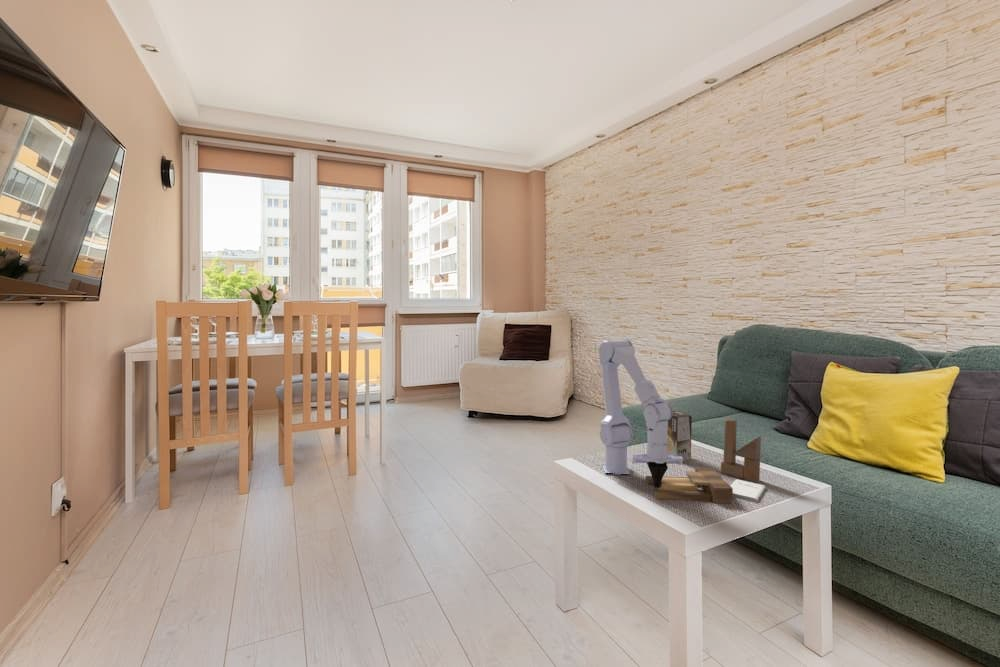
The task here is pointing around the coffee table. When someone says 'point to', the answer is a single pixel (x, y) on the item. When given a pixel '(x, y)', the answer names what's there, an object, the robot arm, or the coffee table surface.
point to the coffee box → (679, 435)
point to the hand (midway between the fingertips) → (656, 486)
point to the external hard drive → (747, 490)
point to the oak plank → (677, 484)
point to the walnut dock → (707, 480)
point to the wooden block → (748, 452)
